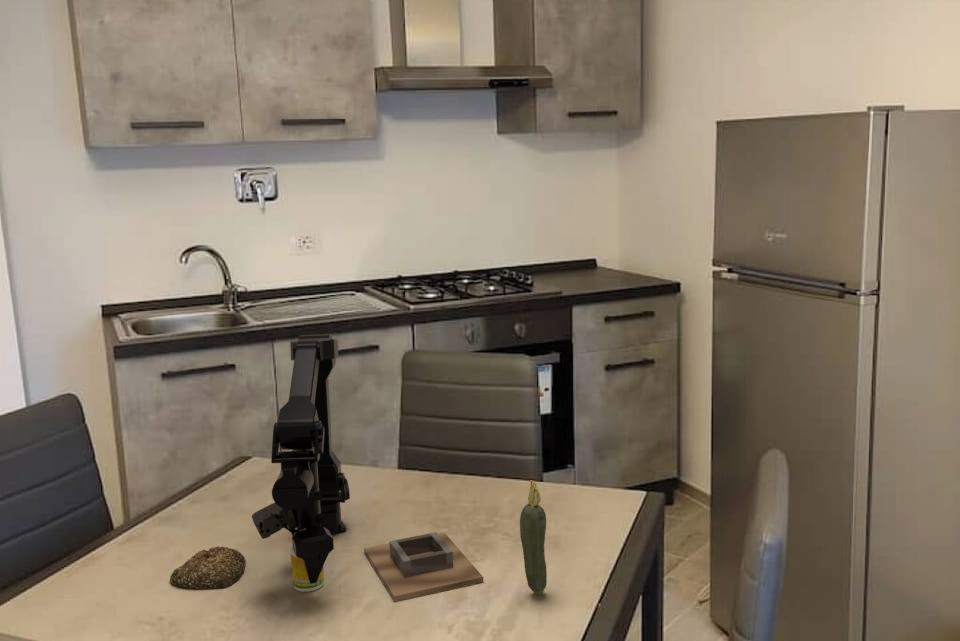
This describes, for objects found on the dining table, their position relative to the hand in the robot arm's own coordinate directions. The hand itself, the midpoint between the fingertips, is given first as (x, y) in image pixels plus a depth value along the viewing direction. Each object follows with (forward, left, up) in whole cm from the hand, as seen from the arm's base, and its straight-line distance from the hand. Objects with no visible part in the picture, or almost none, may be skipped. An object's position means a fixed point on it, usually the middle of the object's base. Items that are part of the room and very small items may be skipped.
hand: (307, 571), depth 152 cm
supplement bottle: (0, 0, -3) cm, 3 cm away
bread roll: (-12, -15, -3) cm, 20 cm away
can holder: (+2, +20, -2) cm, 20 cm away
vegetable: (+20, +34, -3) cm, 40 cm away
